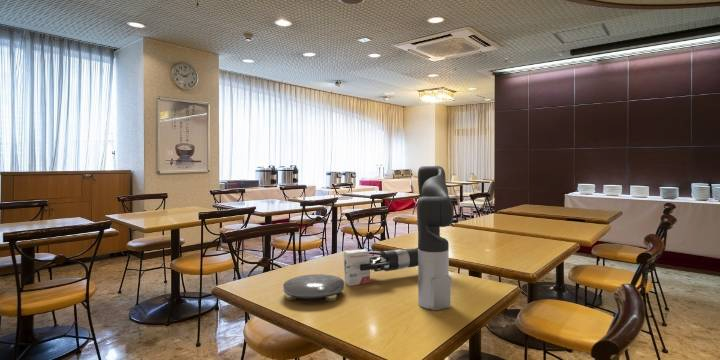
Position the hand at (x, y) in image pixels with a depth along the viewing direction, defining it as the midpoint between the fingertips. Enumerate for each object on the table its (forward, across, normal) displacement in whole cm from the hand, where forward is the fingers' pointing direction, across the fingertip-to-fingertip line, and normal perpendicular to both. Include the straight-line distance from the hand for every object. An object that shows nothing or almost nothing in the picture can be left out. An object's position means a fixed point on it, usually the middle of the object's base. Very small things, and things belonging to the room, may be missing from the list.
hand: (355, 264), depth 139 cm
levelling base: (+18, +6, +7) cm, 20 cm away
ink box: (0, 0, +7) cm, 7 cm away
